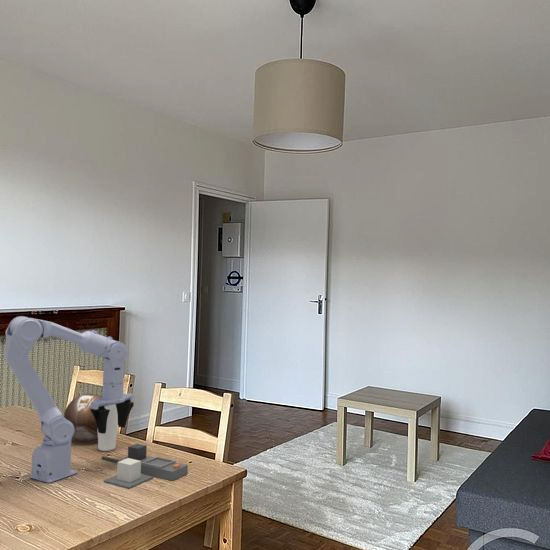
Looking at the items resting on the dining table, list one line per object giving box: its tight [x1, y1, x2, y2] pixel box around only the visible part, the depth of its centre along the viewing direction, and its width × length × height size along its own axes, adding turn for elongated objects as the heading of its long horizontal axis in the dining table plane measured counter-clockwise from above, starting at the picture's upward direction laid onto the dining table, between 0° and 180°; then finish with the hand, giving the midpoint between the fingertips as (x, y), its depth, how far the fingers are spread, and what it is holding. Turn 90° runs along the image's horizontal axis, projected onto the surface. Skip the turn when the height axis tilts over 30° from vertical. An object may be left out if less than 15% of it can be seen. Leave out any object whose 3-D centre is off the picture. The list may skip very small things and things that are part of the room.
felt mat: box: [103, 473, 154, 490], centre depth 147 cm, size 9×9×1 cm
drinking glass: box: [97, 404, 118, 452], centre depth 174 cm, size 7×7×15 cm
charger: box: [116, 458, 142, 482], centre depth 147 cm, size 4×4×4 cm
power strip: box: [101, 443, 189, 482], centre depth 157 cm, size 6×29×6 cm, turn 61°
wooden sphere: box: [63, 393, 103, 442], centre depth 183 cm, size 15×15×15 cm
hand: (112, 430), depth 159 cm, fingers open, 7 cm apart
